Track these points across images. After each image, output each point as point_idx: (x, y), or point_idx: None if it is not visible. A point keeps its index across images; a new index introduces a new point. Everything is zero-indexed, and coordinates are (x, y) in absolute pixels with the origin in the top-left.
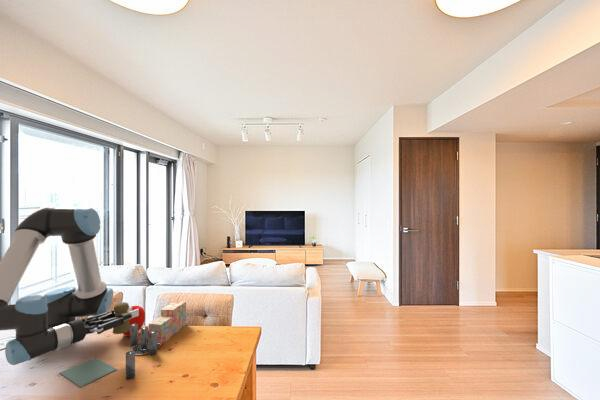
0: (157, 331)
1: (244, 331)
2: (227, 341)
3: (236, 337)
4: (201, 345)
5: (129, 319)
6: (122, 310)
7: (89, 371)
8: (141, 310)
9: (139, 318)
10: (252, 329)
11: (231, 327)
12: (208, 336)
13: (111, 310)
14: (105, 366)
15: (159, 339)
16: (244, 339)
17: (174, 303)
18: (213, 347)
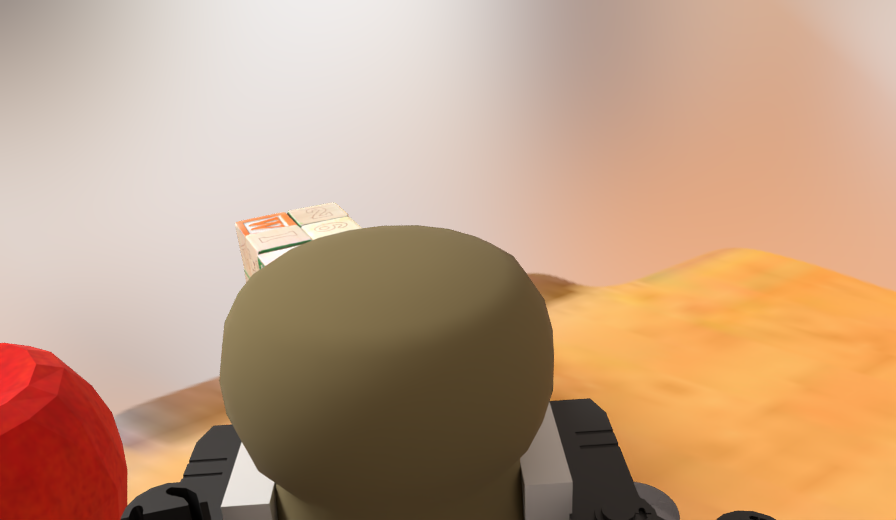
0: None
1: (749, 277)
2: (819, 349)
3: (798, 314)
4: (765, 435)
5: (28, 514)
6: (547, 393)
7: None
8: (70, 373)
9: (111, 455)
10: (754, 257)
11: (643, 284)
12: (657, 370)
13: (126, 517)
14: None
15: None
16: (856, 307)
17: (286, 231)
18: (854, 412)
